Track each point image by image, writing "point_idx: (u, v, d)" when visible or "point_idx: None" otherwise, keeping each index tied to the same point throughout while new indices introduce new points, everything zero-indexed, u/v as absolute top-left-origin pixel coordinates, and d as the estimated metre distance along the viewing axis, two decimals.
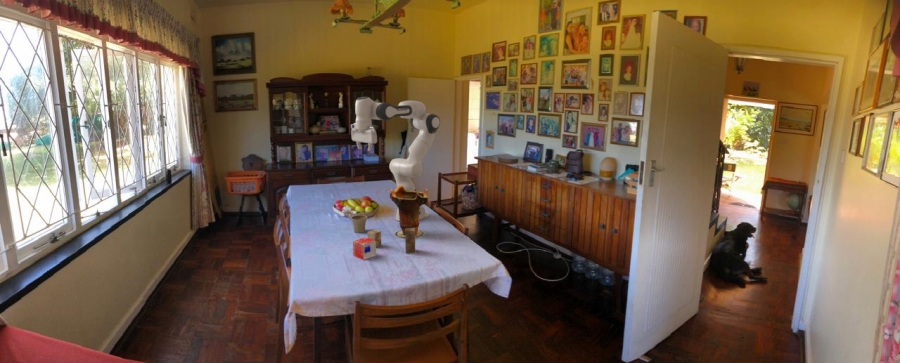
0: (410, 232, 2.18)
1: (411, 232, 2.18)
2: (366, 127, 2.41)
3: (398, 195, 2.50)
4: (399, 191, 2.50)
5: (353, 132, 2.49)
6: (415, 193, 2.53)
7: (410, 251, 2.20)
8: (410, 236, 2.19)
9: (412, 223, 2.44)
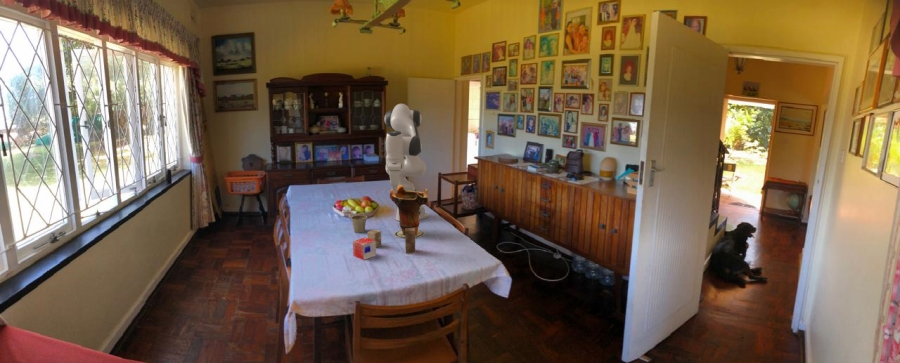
0: (410, 232, 2.18)
1: (411, 232, 2.18)
2: None
3: (398, 195, 2.50)
4: (399, 191, 2.50)
5: None
6: (415, 193, 2.53)
7: (410, 251, 2.20)
8: (410, 236, 2.19)
9: (412, 223, 2.44)
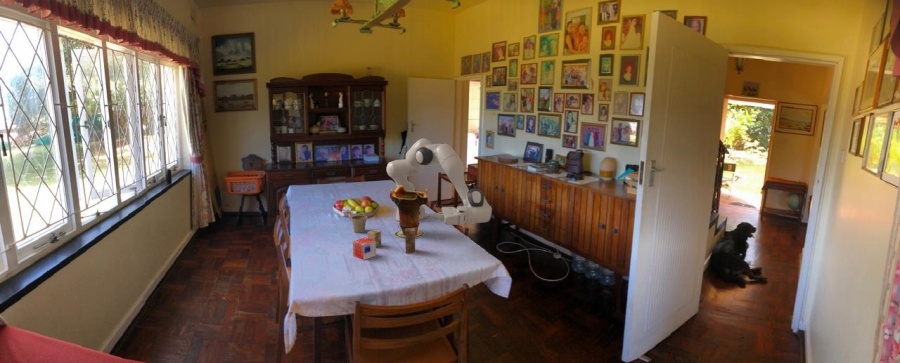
0: (410, 232, 2.18)
1: (411, 232, 2.18)
2: None
3: (398, 195, 2.50)
4: (399, 191, 2.50)
5: None
6: (415, 193, 2.53)
7: (410, 251, 2.20)
8: (410, 236, 2.19)
9: (412, 223, 2.44)
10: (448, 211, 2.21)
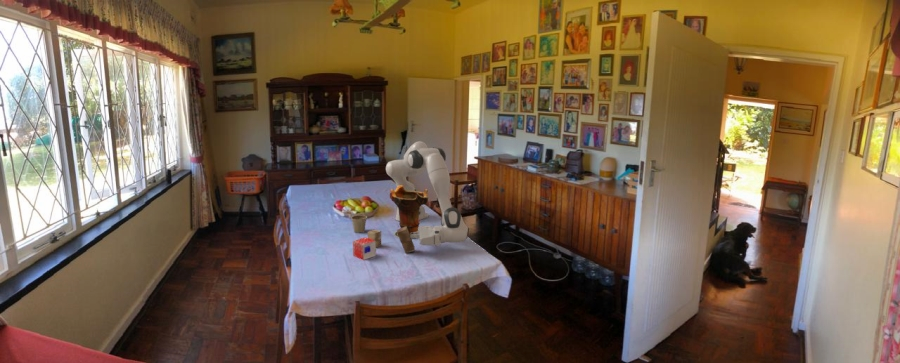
0: (402, 231, 2.18)
1: (403, 232, 2.18)
2: None
3: (398, 195, 2.50)
4: (399, 191, 2.50)
5: None
6: (415, 193, 2.53)
7: (409, 250, 2.20)
8: (404, 235, 2.18)
9: (412, 223, 2.44)
10: (424, 231, 2.22)
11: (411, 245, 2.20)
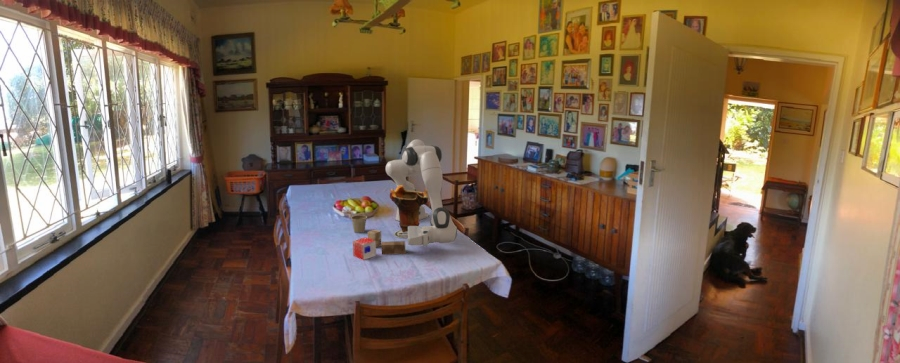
0: (382, 249, 2.18)
1: (383, 248, 2.18)
2: None
3: (398, 195, 2.50)
4: (399, 191, 2.50)
5: None
6: (415, 193, 2.53)
7: (403, 249, 2.19)
8: (387, 249, 2.19)
9: (412, 223, 2.44)
10: (413, 231, 2.21)
11: (399, 245, 2.19)
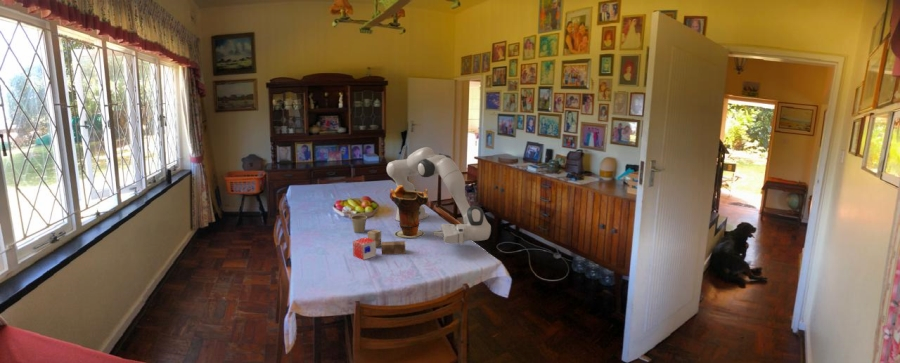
0: (382, 249, 2.18)
1: (383, 248, 2.18)
2: None
3: (398, 195, 2.50)
4: (399, 191, 2.50)
5: None
6: (415, 193, 2.53)
7: (403, 249, 2.19)
8: (387, 249, 2.19)
9: (412, 223, 2.44)
10: (448, 229, 2.23)
11: (399, 245, 2.19)
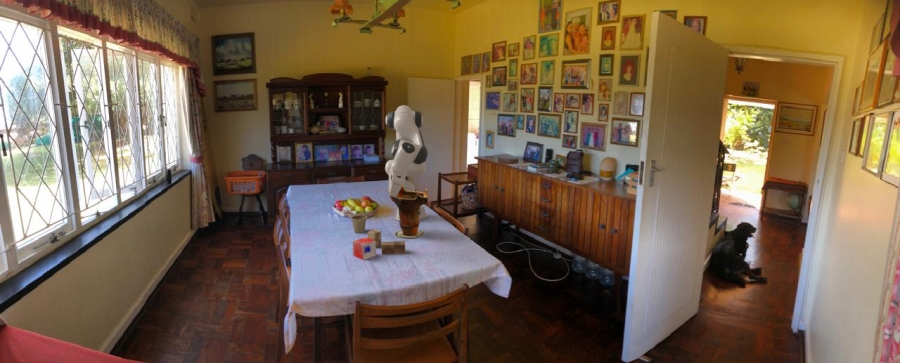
0: (382, 249, 2.18)
1: (383, 249, 2.18)
2: None
3: (398, 195, 2.50)
4: (399, 191, 2.50)
5: None
6: (415, 193, 2.53)
7: (403, 249, 2.19)
8: (387, 249, 2.19)
9: (412, 223, 2.44)
10: (390, 179, 2.22)
11: (399, 245, 2.19)
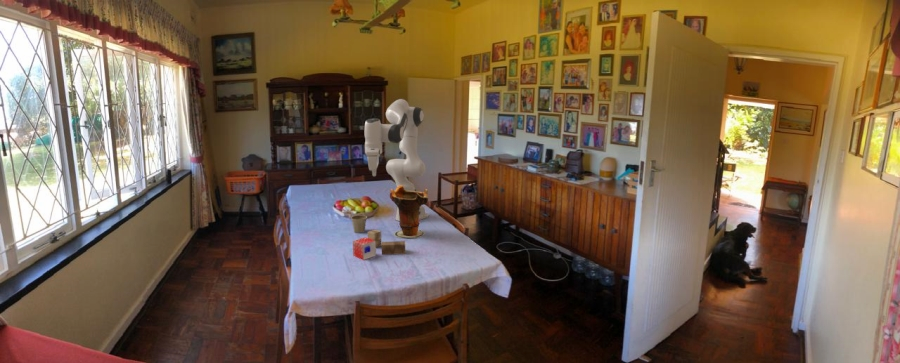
0: (382, 249, 2.18)
1: (383, 249, 2.18)
2: None
3: (398, 195, 2.50)
4: (399, 191, 2.50)
5: None
6: (415, 193, 2.53)
7: (403, 249, 2.19)
8: (387, 249, 2.19)
9: (412, 223, 2.44)
10: None
11: (399, 245, 2.19)
